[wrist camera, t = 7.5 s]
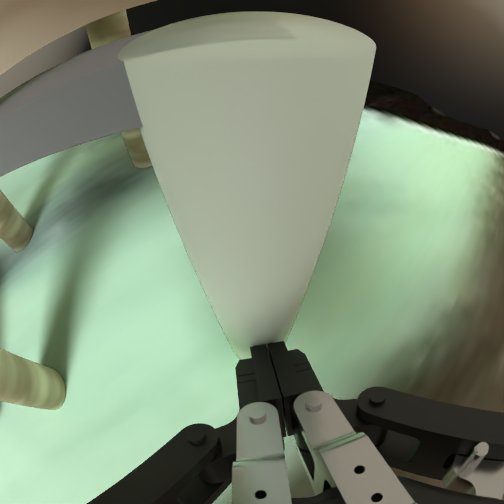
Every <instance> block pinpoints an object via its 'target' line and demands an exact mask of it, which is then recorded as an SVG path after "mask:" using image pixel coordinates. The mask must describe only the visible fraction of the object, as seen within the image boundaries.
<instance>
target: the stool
mask: <svg viewBox="0 0 504 504" xmlns="http://www.w3.org/2000/svg"><path fill="white" fill-rule="evenodd" d="M152 1H156V0H0V75H1V74H2V73H4V72H5V71H7V70H8V69H9V68H11V67H12V66H14V65H15V64H16V63H18V62H19V61H21V60H22V59H24V58H25V57H27V56H28V55H30V54H32V53H33V52H35V51H36V50H38V49H40V48H41V47H43V46H45V45H46V44H48V43H50V42H52V41H54V40H55V39H57V38H59V37H61V36H63V35H65V34H67V33H69V32H71V31H73V30H75V29H77V28H80V27H82V26H84V25H86V29H87V32H88V36H89V40H90V43H91V47H92V49H94V48H97V47H100V46H102V45H105V44H108V43H111V42H114V41H117V40H120V39H123V38H126V37H130V36H131V34H130V29H129V24H128V20H127V15H126V10H125V9H128V8H131V7H134V6H138V5H141V4H145V3H148V2H152ZM121 135H122V137H123V140H124V142H125V145H126V147H127V150H128V152H129V155H130V157H131V160H132V162H133V165H134V166H135V167H137V168H147V167H150V166H152V163H151V160H150V157H149V155H148V152H147V149H146V146H145V143H144V140H143V137H142V135H141V132H140V129H139V128H136V129H132V130H128V131H124V132H121ZM32 233H33V230H32V227H31V226H30V225H29V224H28V223H27V222H26V220H25V219H24V218H23V217H22V216H21V215H20V214H19V212H18V211H17V210H16V209H15V208H14V206H13V205H12V204H11V203H10V201H9V200H8V199H7V198H6V196H5V195H4V194H3V193H2V191H1V190H0V238H1V239H2V240H3V241H4V242H5V243H6V244H7V245H8V246H10V247H11V248H12V249H13V250H14V251H15V252H20V251H21V250H23V249H24V248H25V247H26V246H27V244H28V243H29V241H30V239H31V237H32ZM65 396H66V388H65V383H64V380H63V378H62V376H61V375H60V374H59V372H58V371H56V370H55V369H52V368H49V367H46V366H43V365H41V364H38V363H35V362H32V361H30V360H27V359H24V358H22V357H19V356H17V355H14V354H12V353H10V352H7V351H5V350H3V349H0V401H4V402H8V403H13V404H18V405H23V406H29V407H35V408H41V409H48V410H57V409H59V408H60V407H61V406H62V405H63V403H64V401H65Z"/></svg>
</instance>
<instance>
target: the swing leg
mask: <svg viewBox="0 0 504 504" xmlns="http://www.w3.org/2000/svg"><path fill="white" fill-rule="evenodd" d="M375 51H376V44H375V43H374V42H373V40H371V39H370V38H369V37H368V36H366V35H364V34H363V33H361V32H359V31H357V30H355V29H352V28H350V27H347V26H345V25H342V24H339V23H335V22H332V21H328V20H325V19H320V18H316V17H311V16H305V15H298V14H291V13H280V12H234V13H223V14H215V15H208V16H203V17H198V18H193V19H188V20H184V21H181V22H177V23H173V24H170V25H167V26H164V27H161V28H158V29H156V30H152V31H148V32H144V33H140V34H137V35H133V36H130V37H126V38H123V39H120V40H117V41H114V42H111V43H108V44H105V45H102V46H100V47H97V48H94V49H92V50H89V51H87V52H85V53H82V54H80V55H77V56H75V57H73V58H71V59H68V60H67V61H64V62H62V63H60V64H58V65H56V66H54V67H52V68H50V69H48V70H46V71H44V72H42V73H40V74H39V75H37V76H35V77H33V78H31V79H30V80H28V81H26V82H25V83H23V84H21V85H20V86H18V87H16V88H15V89H13V90H12V91H11V92H9V93H7V94H6V95H4V96H3V97H2V98H0V177H1V176H3V175H5V174H7V173H9V172H11V171H13V170H15V169H17V168H20V167H22V166H24V165H26V164H29V163H31V162H33V161H36V160H38V159H41V158H43V157H46V156H48V155H51V154H54V153H56V152H59V151H62V150H64V149H67V148H70V147H73V146H76V145H79V144H82V143H85V142H88V141H92V140H95V139H98V138H102V137H105V136H109V135H112V134H116V133H120V132H124V131H128V130H132V129H136V128H139V129H140V132H141V135H142V137H143V140H144V143H145V146H146V149H147V152H148V155H149V157H150V160H151V163H152V166H153V168H154V171H155V174H156V176H157V179H158V182H159V184H160V187H161V190H162V192H163V195H164V197H165V200H166V203H167V205H168V208H169V210H170V213H171V215H172V218H173V220H174V222H175V225H176V227H177V230H178V232H179V235H180V237H181V239H182V242H183V244H184V246H185V249H186V251H187V253H188V256H189V258H190V260H191V263H192V265H193V267H194V269H195V272H196V274H197V276H198V278H199V281H200V283H201V285H202V287H203V289H204V292H205V294H206V296H207V298H208V300H209V302H210V304H211V307H212V309H213V311H214V313H215V315H216V317H217V319H218V321H219V323H220V325H221V327H222V329H223V331H224V333H225V335H226V338H227V340H228V342H229V344H230V345H231V347H232V349H233V351H234V353H235V354H236V356H237V357H238V358H239V359H241V360H242V359H248V358H252V357H251V351H250V347H253V346H258V345H264V344H266V346H267V344H269V343H274V342H279V341H284V343H286V341H287V338H288V336H289V334H290V331H291V329H292V326H293V324H294V321H295V319H296V316H297V314H298V311H299V309H300V306H301V304H302V301H303V299H304V296H305V293H306V291H307V288H308V285H309V283H310V280H311V277H312V275H313V272H314V269H315V266H316V264H317V261H318V258H319V255H320V252H321V250H322V247H323V244H324V241H325V238H326V235H327V232H328V229H329V226H330V223H331V220H332V217H333V214H334V211H335V208H336V204H337V201H338V198H339V195H340V192H341V188H342V185H343V182H344V178H345V175H346V171H347V168H348V164H349V161H350V157H351V154H352V150H353V146H354V143H355V139H356V135H357V131H358V127H359V124H360V120H361V115H362V111H363V107H364V103H365V99H366V94H367V90H368V85H369V81H370V76H371V71H372V66H373V61H374V56H375Z"/></svg>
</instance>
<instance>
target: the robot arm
mask: <svg viewBox="0 0 504 504" xmlns="http://www.w3.org/2000/svg"><path fill="white" fill-rule="evenodd" d="M250 351H251V357H252V358H248V359H242V360H239V362H238V364H237V366H236V378H237V388H238V398H239V407H240V410H239V413H238V415H237V417H236V418H235V419H234V420H233V421H232V422H230V423H229V424H227V425H225V426H222V427H219V428H216V429H214V428H213V427H212V426H210V425H207V424H193V425H190V426H187V427H185V428H184V429H183V430H181V431H180V432H179V433H178V434H177V435H176V436H174V437H173V438H172V439H171V440H170V441H169V442H167V443H166V444H165V445H164V446H163V447H162V448H160V449H159V450H158V451H157V452H156V453H154V454H153V455H152V456H151V457H149V458H148V459H147V460H146V461H144V462H143V463H142V464H141V465H139V466H138V467H137V468H136V469H134V470H133V471H132V472H130V473H129V474H128V475H127V476H125V477H124V478H123V479H121V480H120V481H119V482H117V483H116V484H114V485H113V486H112V487H110V488H109V489H107V490H106V491H105V492H103V493H102V494H100V495H99V496H97V497H96V498H95V499H93V500H92V501H90V502H89V503H87V504H212V503H213V502H214V501H215V500H216V499H217V498H218V497H219V496H220V494H221V493H222V492H223V491H224V490H225V489H226V488H227V487H228V486H229V485H230V483H231V482H232V504H504V501H503V500H501V499H502V496H503V493H504V413H501V412H494V411H487V410H481V409H475V408H469V407H464V406H459V405H454V404H449V403H444V402H440V401H435V400H431V399H426V398H422V397H418V396H414V395H410V394H406V393H403V392H399V391H395V390H392V389H388V388H384V387H372V388H368V389H366V390H364V391H363V392H362V393H361V394H360V395H359V397H358V399H351V400H338V399H334V398H332V397H331V396H330V395H329V394H328V393H326V392H324V391H323V389H322V387H321V385H320V383H319V381H318V379H317V377H316V375H315V373H314V371H313V369H312V367H311V365H310V363H309V361H308V359H307V357H306V355H305V354H304V353H302V352H301V351H299V350H298V349H295V350H290V351H288V350H287V348H286V345H285V343H284V341H279V342H274V343H269V344H267V346H266V344H264V345H258V346H253V347H250ZM285 428H286V429H285ZM286 431H287V435H288V436H291V435H294V436H295V439H296V445H297V451H298V454H299V456H300V458H301V461H302V463H303V465H304V468H305V470H306V472H307V475H308V477H309V479H310V482H311V484H312V487H313V492H314V495H315V496H313V497H309V498H291V495H290V488H289V482H288V475H287V468H286V461H285V456H284V449H285V447H284V439H283V437H286ZM389 466H391V467H394V468H397V469H400V470H403V471H407V472H410V473H414V474H417V475H421V476H425V477H429V478H433V479H437V480H442V482H443V486H444V488H440V487H436V486H432V485H429V484H425V483H422V482H419V481H415V480H412V479H409V478H405V477H400V476H396V475H395V474H394V473H393V471H392V470H391V468H390V467H389Z"/></svg>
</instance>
